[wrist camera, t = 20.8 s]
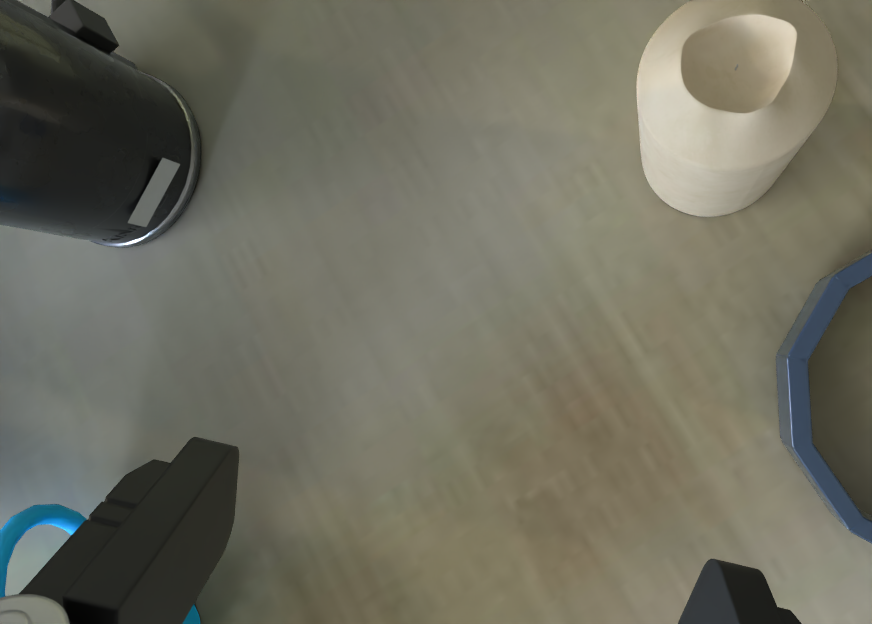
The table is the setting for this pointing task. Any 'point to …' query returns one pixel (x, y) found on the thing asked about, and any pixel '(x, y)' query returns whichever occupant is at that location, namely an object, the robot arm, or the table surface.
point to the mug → (54, 514)
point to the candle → (730, 99)
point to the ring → (797, 391)
